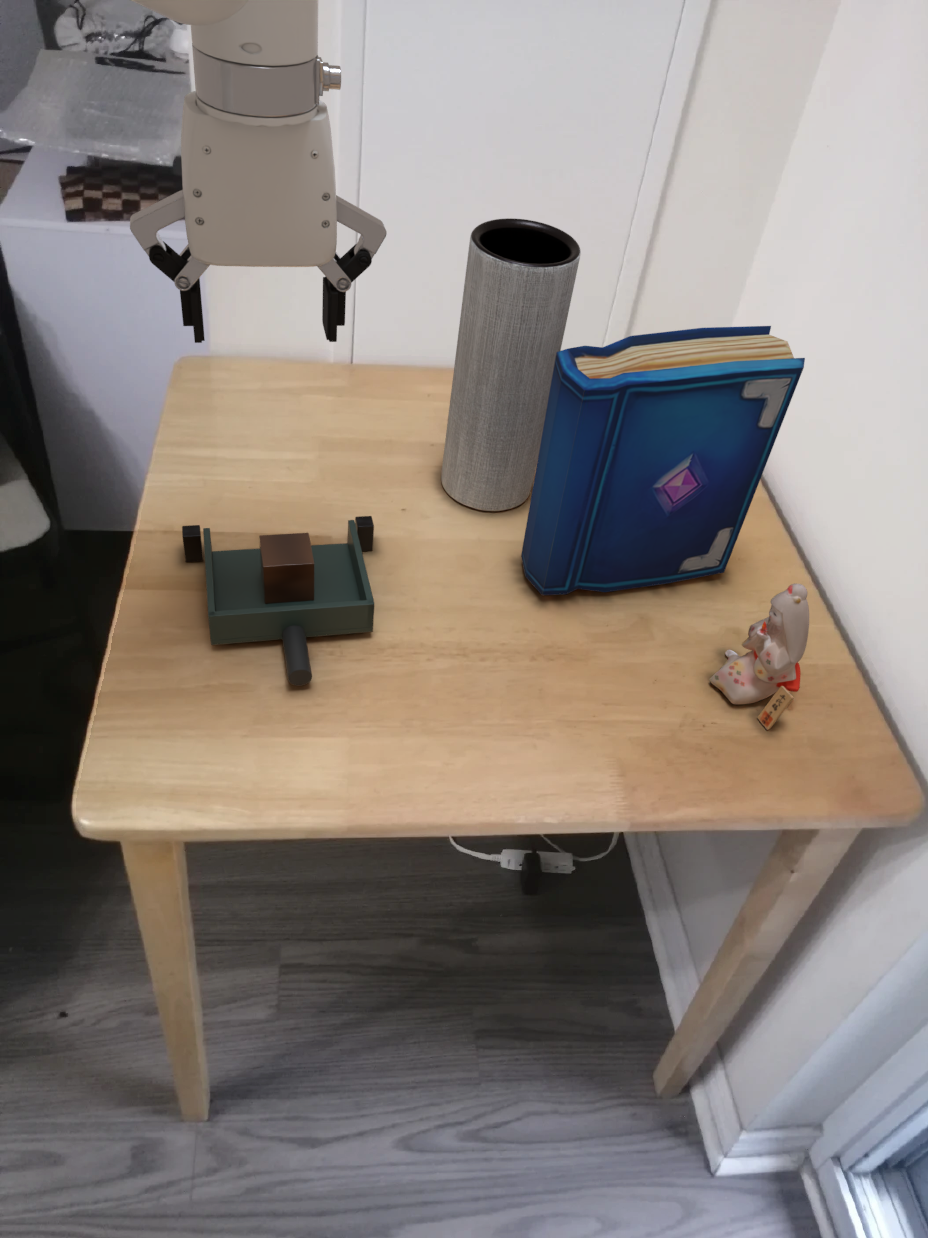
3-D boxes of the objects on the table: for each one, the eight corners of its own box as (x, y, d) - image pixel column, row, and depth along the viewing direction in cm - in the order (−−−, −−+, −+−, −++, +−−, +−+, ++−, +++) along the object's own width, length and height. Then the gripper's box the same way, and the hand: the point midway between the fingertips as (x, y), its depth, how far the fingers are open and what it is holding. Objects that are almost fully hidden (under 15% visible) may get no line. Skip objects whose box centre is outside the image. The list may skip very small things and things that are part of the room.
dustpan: (210, 662, 74) (214, 694, 77) (384, 646, 78) (382, 678, 80) (203, 527, 86) (206, 559, 89) (354, 519, 90) (353, 550, 92)
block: (264, 604, 84) (263, 566, 81) (261, 572, 87) (259, 534, 84) (314, 600, 85) (314, 563, 82) (308, 569, 88) (308, 532, 85)
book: (530, 609, 89) (584, 377, 72) (505, 560, 94) (550, 331, 76) (725, 579, 96) (818, 360, 78) (692, 535, 100) (773, 318, 83)
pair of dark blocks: (185, 551, 89) (181, 525, 87) (370, 540, 94) (371, 515, 91) (185, 562, 88) (182, 536, 86) (372, 550, 93) (374, 525, 90)
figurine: (692, 659, 87) (748, 557, 80) (750, 657, 90) (810, 558, 82) (741, 732, 81) (807, 628, 73) (803, 727, 83) (872, 627, 76)
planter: (515, 454, 107) (560, 217, 88) (542, 509, 101) (597, 265, 82) (430, 459, 105) (458, 216, 86) (453, 516, 98) (488, 266, 79)
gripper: (383, 71, 63) (371, 309, 75) (111, 53, 59) (144, 309, 71) (404, 109, 58) (387, 358, 70) (108, 93, 54) (144, 360, 66)
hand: (265, 333), depth 70 cm, fingers open, 9 cm apart
